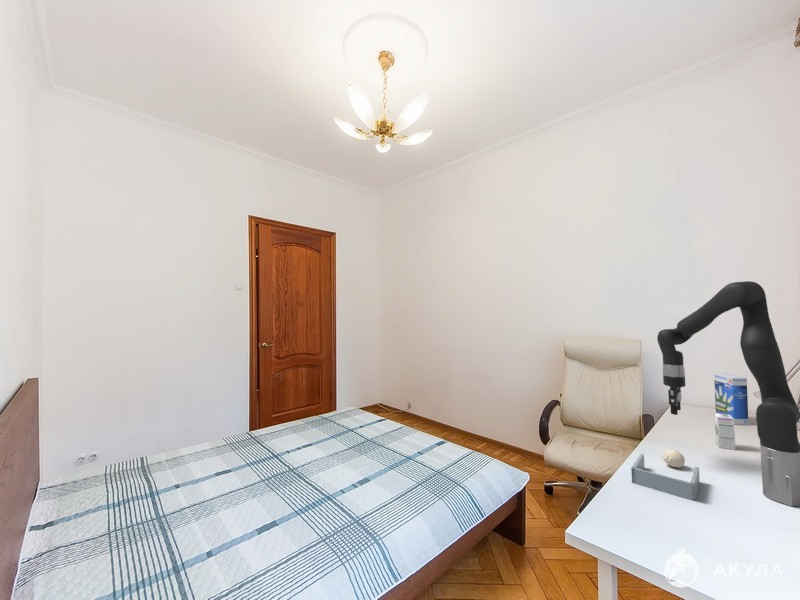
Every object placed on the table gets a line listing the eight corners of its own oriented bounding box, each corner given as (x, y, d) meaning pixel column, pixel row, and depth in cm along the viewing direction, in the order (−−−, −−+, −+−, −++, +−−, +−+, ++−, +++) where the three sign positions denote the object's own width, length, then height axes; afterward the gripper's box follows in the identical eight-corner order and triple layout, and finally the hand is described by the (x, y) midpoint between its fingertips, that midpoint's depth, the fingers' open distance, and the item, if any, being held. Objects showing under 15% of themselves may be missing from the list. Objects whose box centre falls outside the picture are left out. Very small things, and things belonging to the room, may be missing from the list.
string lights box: (715, 417, 197) (713, 373, 198) (730, 417, 196) (727, 373, 197) (734, 425, 184) (731, 377, 185) (750, 425, 183) (747, 377, 184)
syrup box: (736, 450, 153) (734, 418, 153) (718, 447, 156) (717, 416, 156) (732, 445, 158) (730, 414, 158) (715, 443, 161) (713, 412, 161)
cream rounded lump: (658, 463, 143) (657, 447, 143) (676, 462, 142) (675, 446, 143) (670, 470, 136) (670, 453, 136) (689, 470, 136) (688, 453, 136)
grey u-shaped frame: (641, 467, 139) (641, 453, 140) (699, 482, 126) (698, 467, 127) (631, 482, 127) (631, 467, 128) (694, 501, 115) (694, 484, 115)
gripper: (665, 371, 155) (667, 407, 155) (659, 376, 145) (662, 414, 145) (687, 373, 150) (689, 410, 149) (682, 378, 140) (684, 417, 139)
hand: (675, 412), depth 147 cm, fingers open, 8 cm apart
